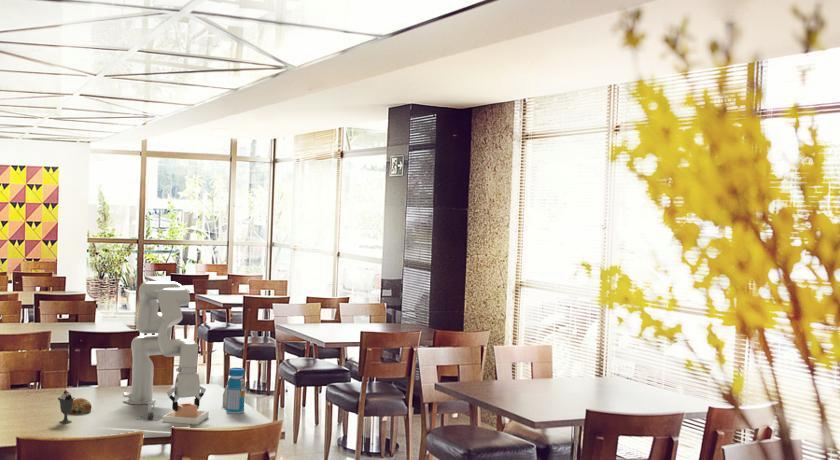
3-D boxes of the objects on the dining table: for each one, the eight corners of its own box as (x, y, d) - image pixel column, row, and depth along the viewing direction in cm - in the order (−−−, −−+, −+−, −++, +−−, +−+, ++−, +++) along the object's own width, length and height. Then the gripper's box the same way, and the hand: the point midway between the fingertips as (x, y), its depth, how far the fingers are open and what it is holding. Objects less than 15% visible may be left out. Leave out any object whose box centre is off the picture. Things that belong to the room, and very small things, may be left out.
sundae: (59, 420, 346) (61, 384, 346) (76, 420, 347) (77, 385, 347) (54, 424, 339) (55, 387, 340) (70, 424, 340) (72, 388, 340)
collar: (181, 421, 350) (182, 407, 350) (174, 418, 356) (175, 404, 356) (196, 419, 355) (197, 405, 355) (190, 416, 360) (190, 402, 360)
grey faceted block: (233, 409, 382) (234, 387, 382) (222, 407, 385) (223, 385, 385) (238, 407, 385) (239, 386, 385) (227, 405, 388) (228, 384, 388)
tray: (162, 423, 348) (162, 416, 348) (175, 415, 363) (175, 409, 363) (196, 425, 347) (196, 418, 347) (208, 417, 362) (208, 411, 362)
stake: (134, 421, 350) (135, 404, 350) (144, 416, 360) (144, 399, 360) (156, 422, 349) (157, 405, 349) (166, 417, 359) (166, 401, 359)
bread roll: (92, 420, 364) (99, 402, 367) (78, 414, 355) (84, 396, 359) (74, 417, 367) (81, 400, 371) (60, 411, 359) (66, 394, 362)
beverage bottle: (228, 414, 370) (230, 370, 370) (223, 410, 378) (225, 367, 378) (246, 413, 374) (248, 369, 374) (241, 409, 381) (243, 366, 382)
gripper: (172, 373, 347) (170, 413, 347) (210, 370, 358) (208, 409, 358) (165, 370, 353) (163, 409, 353) (202, 367, 364) (200, 405, 364)
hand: (185, 409), depth 355 cm, fingers open, 9 cm apart
